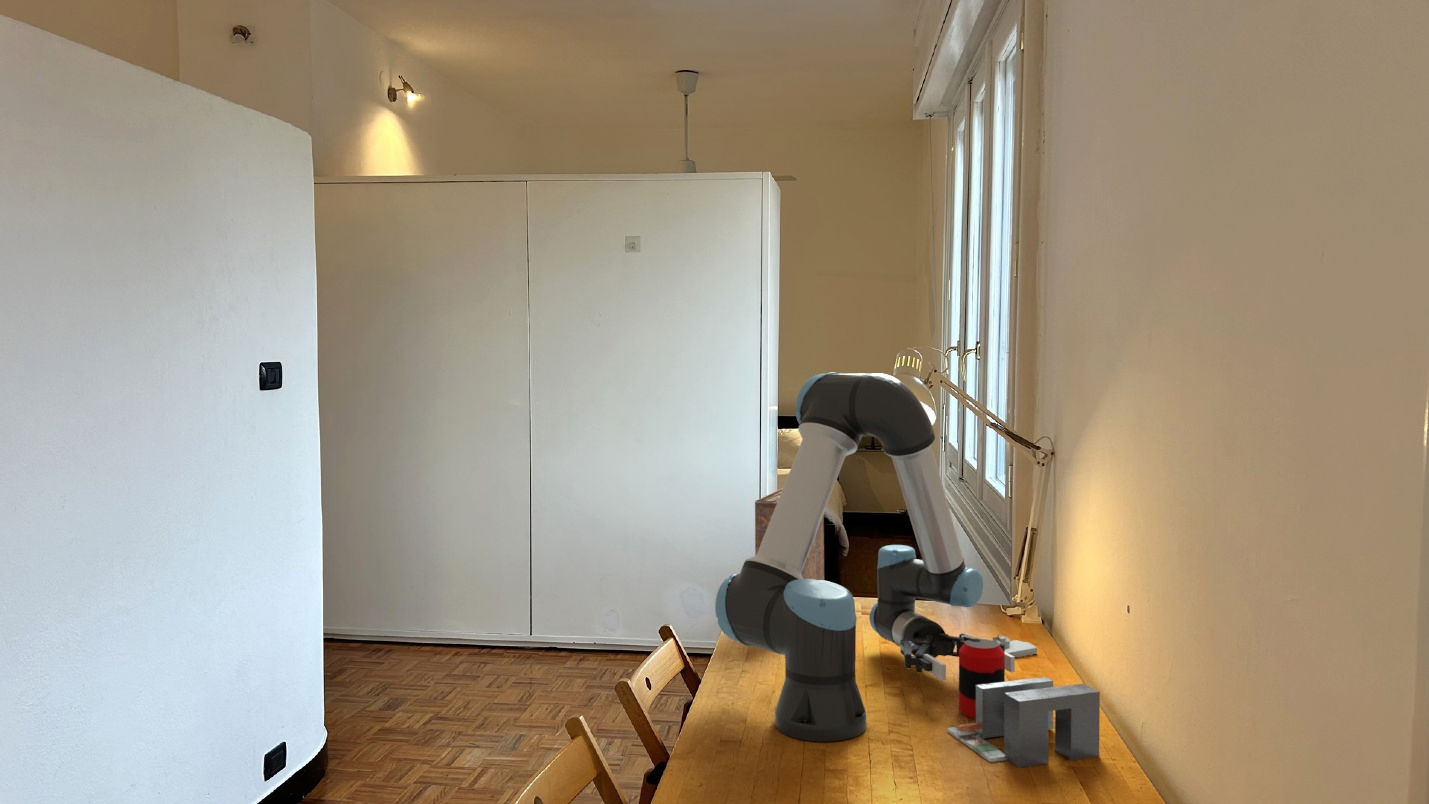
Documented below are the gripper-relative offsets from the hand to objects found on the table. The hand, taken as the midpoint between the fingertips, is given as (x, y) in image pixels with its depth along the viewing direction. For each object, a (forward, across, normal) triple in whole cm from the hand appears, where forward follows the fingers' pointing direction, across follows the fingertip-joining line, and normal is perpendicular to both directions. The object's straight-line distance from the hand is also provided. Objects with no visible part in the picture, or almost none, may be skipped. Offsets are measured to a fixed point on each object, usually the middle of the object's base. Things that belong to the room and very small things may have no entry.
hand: (979, 668), depth 175 cm
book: (-61, +11, -7) cm, 62 cm away
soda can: (+2, +1, -7) cm, 7 cm away
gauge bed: (+16, +2, -7) cm, 18 cm away
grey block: (+15, +3, -7) cm, 16 cm away
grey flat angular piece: (-27, -22, -8) cm, 36 cm away
